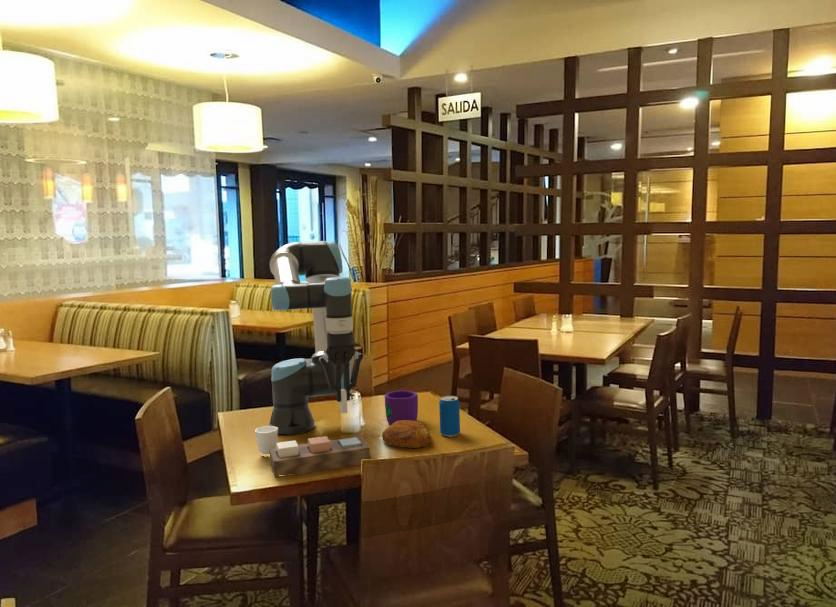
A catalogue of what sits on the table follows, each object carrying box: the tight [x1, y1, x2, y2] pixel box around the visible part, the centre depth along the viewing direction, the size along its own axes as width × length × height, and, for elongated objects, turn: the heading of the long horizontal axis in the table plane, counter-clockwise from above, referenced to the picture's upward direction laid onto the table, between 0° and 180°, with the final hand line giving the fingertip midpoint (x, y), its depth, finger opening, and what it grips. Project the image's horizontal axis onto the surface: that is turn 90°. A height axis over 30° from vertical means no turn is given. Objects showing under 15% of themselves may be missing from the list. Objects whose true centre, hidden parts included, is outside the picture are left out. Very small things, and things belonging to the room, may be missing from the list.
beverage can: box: [438, 395, 461, 438], centre depth 204 cm, size 6×6×12 cm
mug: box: [384, 389, 419, 426], centre depth 222 cm, size 17×11×10 cm, turn 26°
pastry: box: [381, 420, 432, 449], centre depth 199 cm, size 14×16×8 cm
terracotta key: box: [307, 435, 330, 453], centre depth 182 cm, size 5×5×4 cm
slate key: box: [339, 437, 361, 449], centre depth 186 cm, size 5×5×4 cm
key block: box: [269, 435, 371, 477], centre depth 183 cm, size 27×11×4 cm, turn 109°
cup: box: [254, 425, 279, 454], centre depth 192 cm, size 7×10×8 cm
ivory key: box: [276, 439, 299, 458], centre depth 180 cm, size 5×5×4 cm
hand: (343, 411), depth 184 cm, fingers closed
